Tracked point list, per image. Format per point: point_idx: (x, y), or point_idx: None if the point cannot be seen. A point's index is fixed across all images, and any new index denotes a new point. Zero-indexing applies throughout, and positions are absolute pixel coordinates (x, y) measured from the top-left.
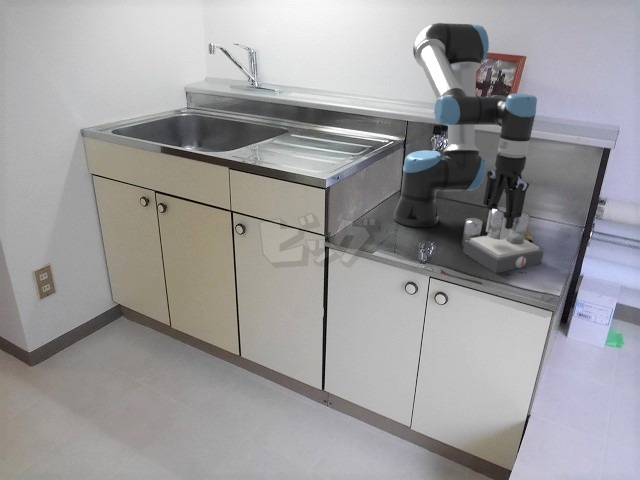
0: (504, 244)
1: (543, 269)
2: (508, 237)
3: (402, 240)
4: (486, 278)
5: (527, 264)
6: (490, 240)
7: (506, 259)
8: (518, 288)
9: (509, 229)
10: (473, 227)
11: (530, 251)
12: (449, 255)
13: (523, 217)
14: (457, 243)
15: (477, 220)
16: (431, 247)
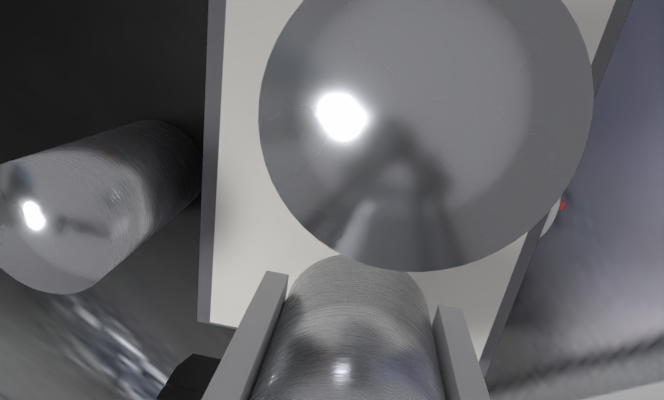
0: None
1: (634, 59)
2: (462, 317)
3: (21, 384)
4: None
5: None
6: (294, 244)
7: (503, 321)
8: (625, 358)
9: (476, 380)
10: (116, 264)
11: None
12: (221, 343)
13: (520, 169)
14: None
15: (36, 197)
16: (121, 343)
